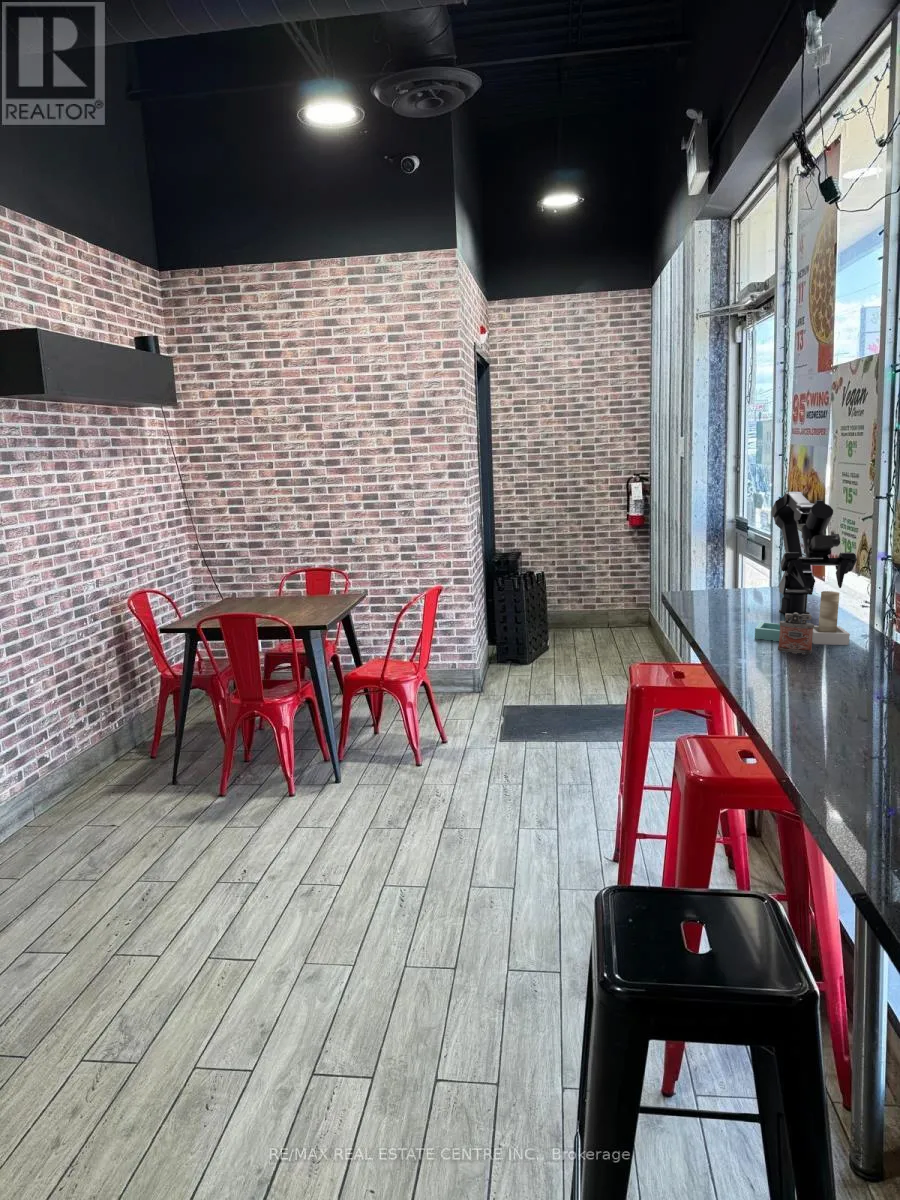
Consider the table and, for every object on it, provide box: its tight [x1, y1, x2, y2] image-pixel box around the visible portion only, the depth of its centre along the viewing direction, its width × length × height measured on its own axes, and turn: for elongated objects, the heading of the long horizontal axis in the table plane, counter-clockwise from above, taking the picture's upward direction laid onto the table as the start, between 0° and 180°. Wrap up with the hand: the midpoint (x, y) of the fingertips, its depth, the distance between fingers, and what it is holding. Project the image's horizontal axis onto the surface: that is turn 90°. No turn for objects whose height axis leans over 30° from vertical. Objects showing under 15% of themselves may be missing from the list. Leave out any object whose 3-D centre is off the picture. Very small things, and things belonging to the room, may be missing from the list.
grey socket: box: [812, 625, 851, 646], centre depth 220 cm, size 9×9×3 cm
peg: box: [818, 590, 840, 633], centre depth 219 cm, size 4×4×13 cm
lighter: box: [777, 612, 815, 655], centre depth 209 cm, size 8×3×10 cm, turn 62°
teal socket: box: [754, 621, 780, 642], centre depth 224 cm, size 9×9×3 cm
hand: (822, 587), depth 225 cm, fingers open, 9 cm apart
